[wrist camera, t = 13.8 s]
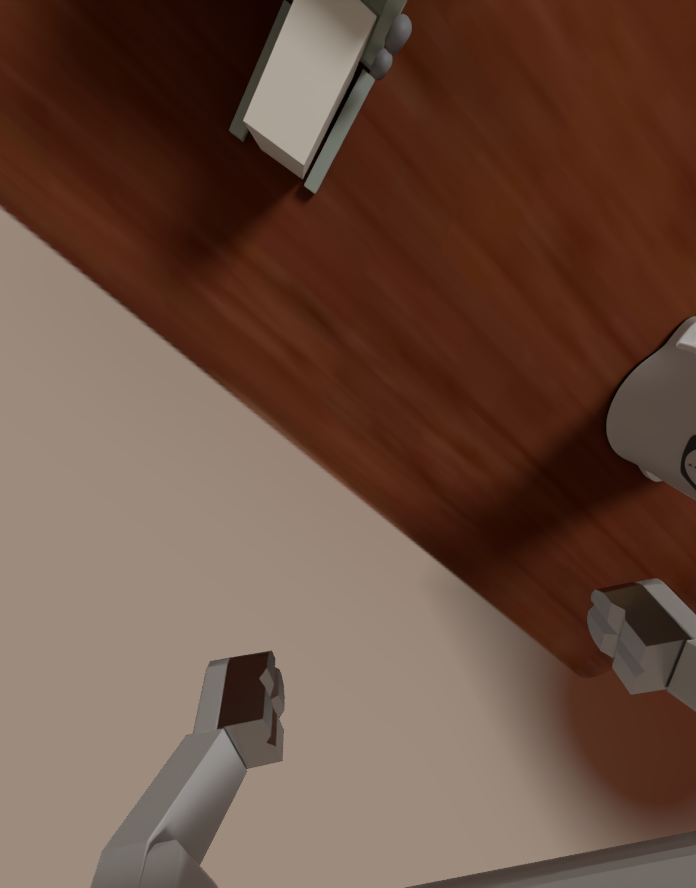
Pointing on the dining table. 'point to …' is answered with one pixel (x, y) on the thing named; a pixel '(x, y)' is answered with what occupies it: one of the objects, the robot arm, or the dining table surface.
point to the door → (307, 78)
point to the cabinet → (385, 31)
